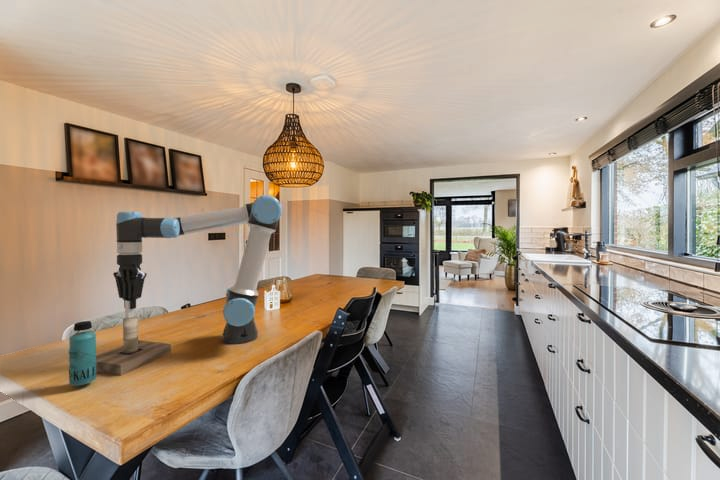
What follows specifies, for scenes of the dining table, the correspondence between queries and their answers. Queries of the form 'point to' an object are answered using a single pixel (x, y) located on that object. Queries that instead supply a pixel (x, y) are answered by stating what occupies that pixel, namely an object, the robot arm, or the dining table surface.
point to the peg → (130, 335)
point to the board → (130, 357)
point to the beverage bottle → (82, 355)
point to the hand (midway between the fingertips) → (130, 317)
